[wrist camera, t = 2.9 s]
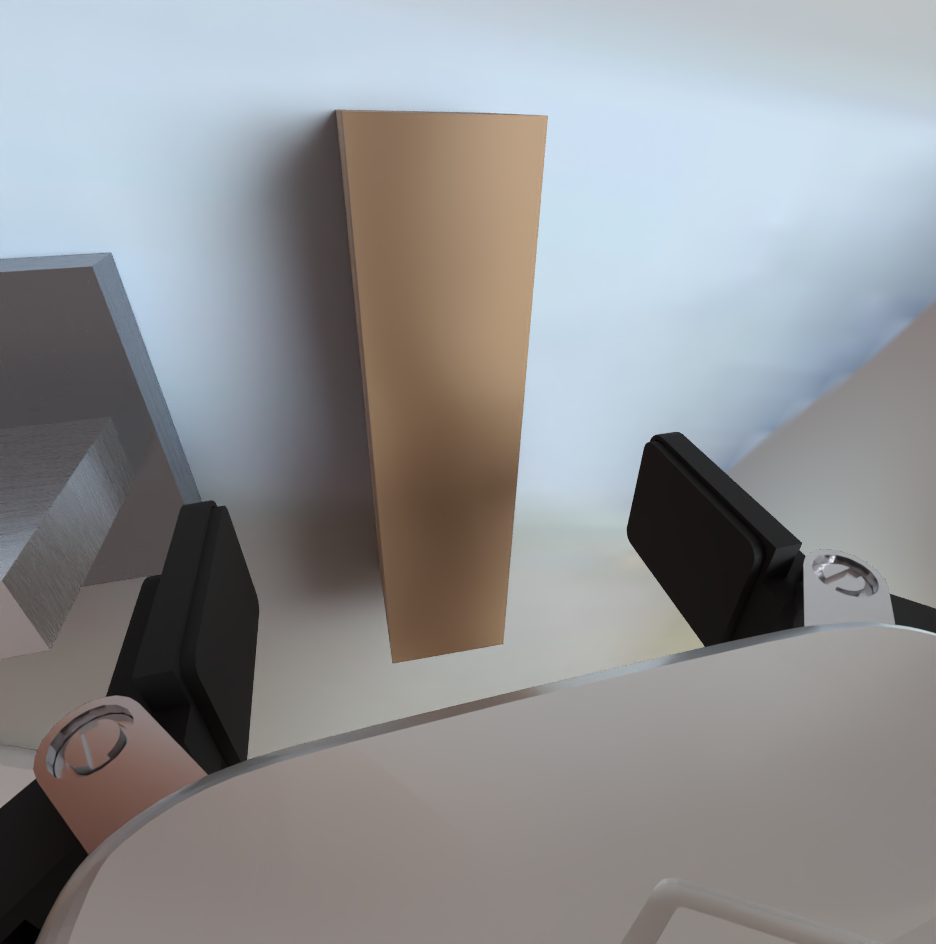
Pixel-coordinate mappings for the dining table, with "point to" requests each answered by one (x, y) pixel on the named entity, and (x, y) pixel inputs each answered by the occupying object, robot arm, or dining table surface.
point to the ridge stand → (77, 445)
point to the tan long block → (443, 355)
